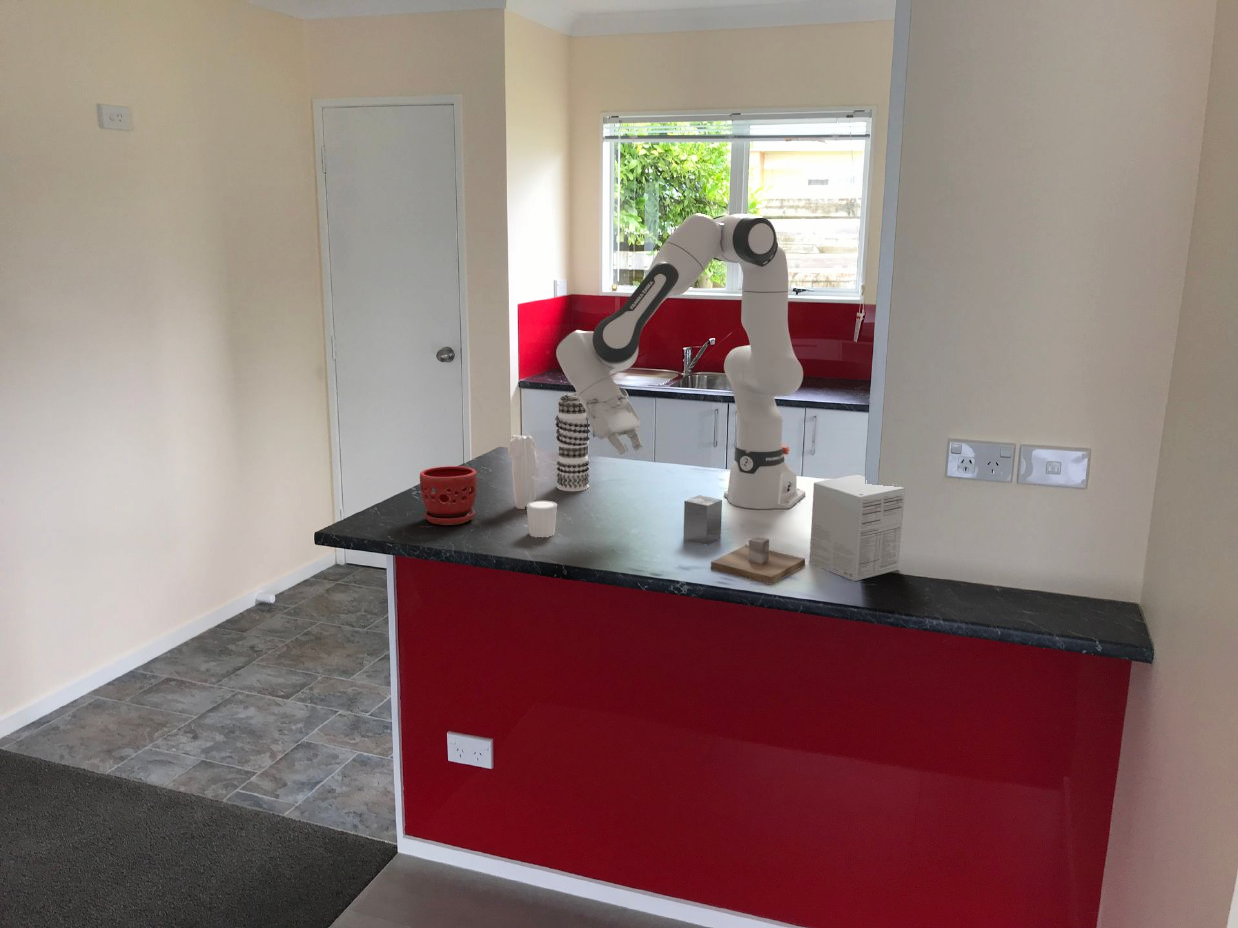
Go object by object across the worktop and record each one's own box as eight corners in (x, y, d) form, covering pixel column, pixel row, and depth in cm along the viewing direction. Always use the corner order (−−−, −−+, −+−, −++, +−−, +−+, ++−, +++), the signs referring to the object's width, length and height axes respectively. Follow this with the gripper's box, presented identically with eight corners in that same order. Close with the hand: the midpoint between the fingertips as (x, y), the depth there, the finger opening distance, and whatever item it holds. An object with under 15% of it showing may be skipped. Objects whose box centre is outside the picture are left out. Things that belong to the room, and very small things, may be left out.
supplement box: (900, 570, 198) (907, 487, 194) (854, 582, 191) (860, 496, 187) (852, 552, 209) (858, 473, 205) (807, 562, 202) (812, 481, 198)
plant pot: (489, 519, 230) (488, 470, 227) (444, 531, 220) (442, 480, 217) (454, 508, 238) (453, 461, 235) (410, 519, 229) (408, 470, 226)
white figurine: (513, 511, 236) (542, 509, 238) (511, 439, 232) (541, 437, 234) (506, 504, 242) (535, 501, 244) (504, 434, 238) (533, 432, 240)
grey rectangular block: (698, 533, 221) (699, 495, 219) (720, 538, 217) (722, 499, 215) (683, 539, 216) (684, 500, 214) (706, 545, 213) (707, 505, 211)
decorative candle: (570, 480, 265) (569, 390, 259) (597, 486, 260) (597, 393, 254) (548, 487, 258) (547, 394, 252) (576, 493, 253) (575, 398, 247)
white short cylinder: (533, 540, 215) (533, 509, 213) (522, 531, 221) (521, 502, 219) (562, 536, 218) (562, 506, 216) (550, 527, 224) (549, 498, 222)
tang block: (746, 551, 209) (747, 524, 207) (804, 565, 200) (806, 537, 199) (710, 568, 198) (711, 540, 197) (771, 584, 190) (772, 555, 188)
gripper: (594, 392, 208) (626, 448, 207) (628, 389, 227) (658, 440, 226) (571, 408, 211) (603, 462, 209) (607, 403, 230) (636, 454, 228)
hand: (632, 451), depth 218 cm, fingers open, 8 cm apart
